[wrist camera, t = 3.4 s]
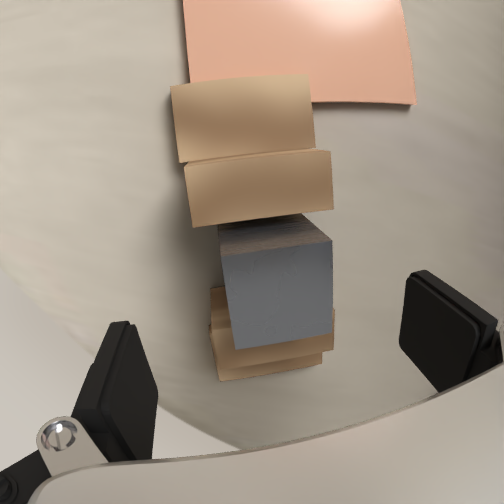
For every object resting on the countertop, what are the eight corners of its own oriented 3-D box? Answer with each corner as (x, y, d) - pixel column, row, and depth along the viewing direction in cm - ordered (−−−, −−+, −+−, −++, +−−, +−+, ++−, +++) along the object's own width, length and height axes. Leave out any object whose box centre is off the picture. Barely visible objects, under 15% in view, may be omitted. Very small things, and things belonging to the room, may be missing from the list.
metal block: (216, 211, 18) (220, 256, 11) (287, 202, 18) (332, 240, 11) (225, 278, 19) (235, 349, 13) (292, 268, 19) (331, 332, 13)
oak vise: (172, 89, 15) (159, 72, 11) (302, 77, 16) (332, 59, 11) (219, 372, 21) (222, 419, 17) (317, 355, 22) (338, 398, 18)
